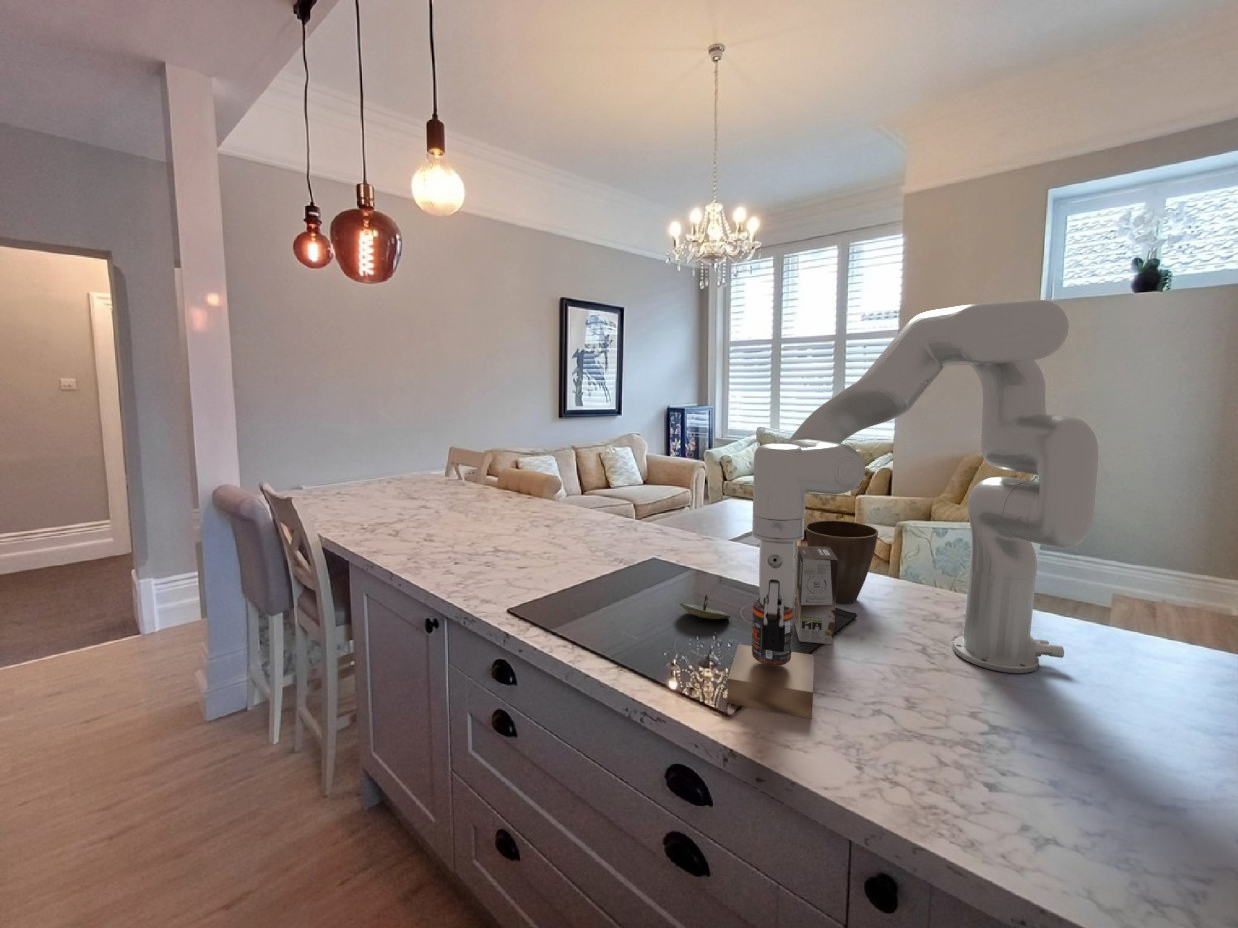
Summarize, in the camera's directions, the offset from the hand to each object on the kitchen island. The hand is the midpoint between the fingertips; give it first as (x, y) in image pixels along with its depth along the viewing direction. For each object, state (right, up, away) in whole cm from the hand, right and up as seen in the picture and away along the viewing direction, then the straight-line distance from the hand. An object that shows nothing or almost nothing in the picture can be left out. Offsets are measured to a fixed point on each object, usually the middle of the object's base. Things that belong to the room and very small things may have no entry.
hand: (774, 639), depth 88 cm
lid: (-7, -5, +28) cm, 29 cm away
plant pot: (+25, -3, +40) cm, 47 cm away
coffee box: (+13, -6, +22) cm, 26 cm away
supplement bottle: (0, -3, +1) cm, 3 cm away
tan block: (0, -8, +1) cm, 8 cm away
